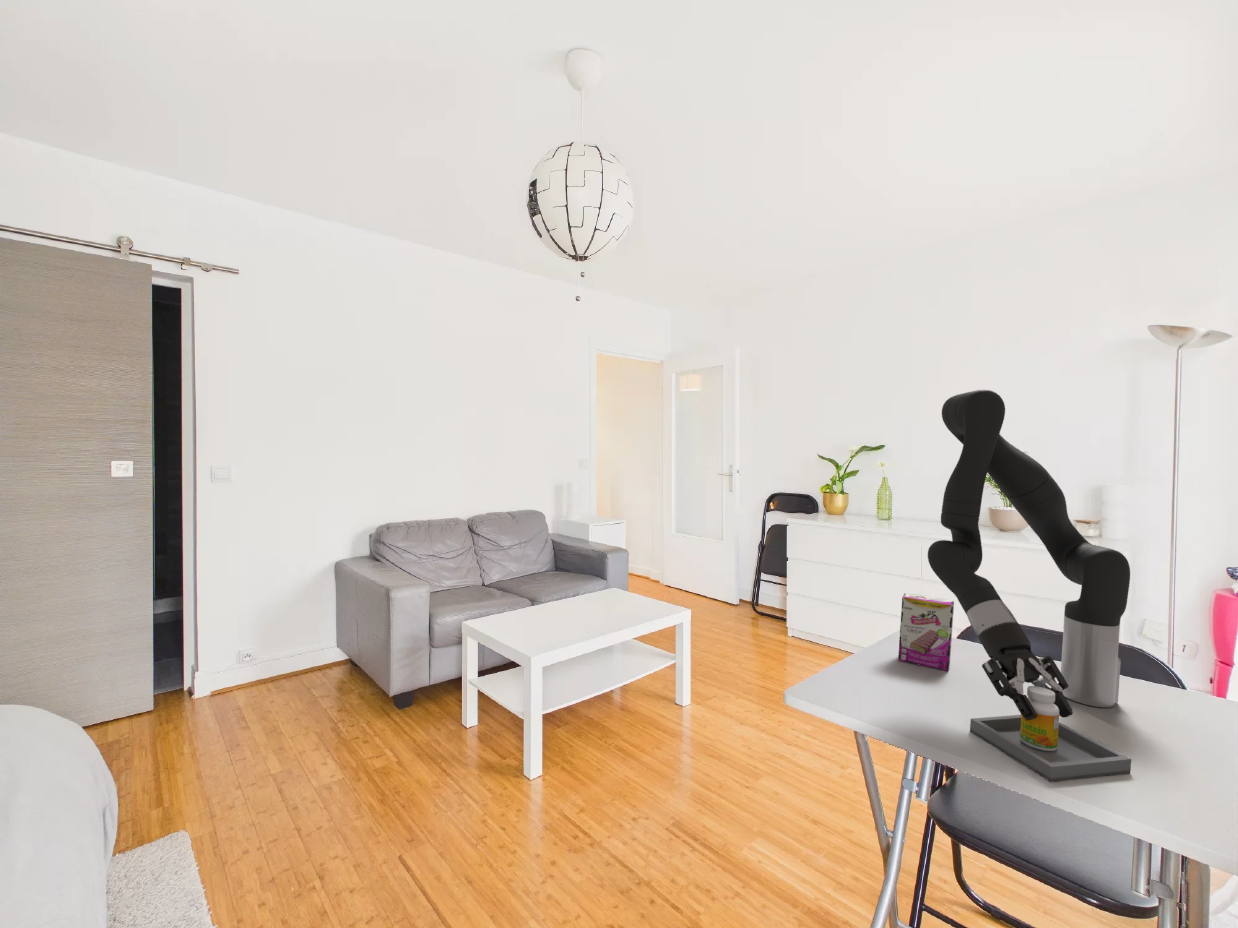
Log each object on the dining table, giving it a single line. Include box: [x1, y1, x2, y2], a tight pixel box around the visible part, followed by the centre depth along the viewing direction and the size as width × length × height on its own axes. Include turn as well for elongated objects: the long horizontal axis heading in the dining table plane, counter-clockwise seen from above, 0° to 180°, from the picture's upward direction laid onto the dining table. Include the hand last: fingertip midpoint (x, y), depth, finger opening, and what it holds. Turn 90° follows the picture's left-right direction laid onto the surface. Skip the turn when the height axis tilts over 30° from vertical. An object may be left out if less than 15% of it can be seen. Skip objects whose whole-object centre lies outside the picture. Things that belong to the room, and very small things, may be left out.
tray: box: [969, 714, 1132, 783], centre depth 100 cm, size 16×16×2 cm
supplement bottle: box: [1020, 685, 1060, 751], centre depth 101 cm, size 5×5×10 cm
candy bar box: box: [897, 592, 955, 672], centre depth 139 cm, size 11×5×16 cm, turn 58°
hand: (1050, 717), depth 99 cm, fingers open, 7 cm apart
